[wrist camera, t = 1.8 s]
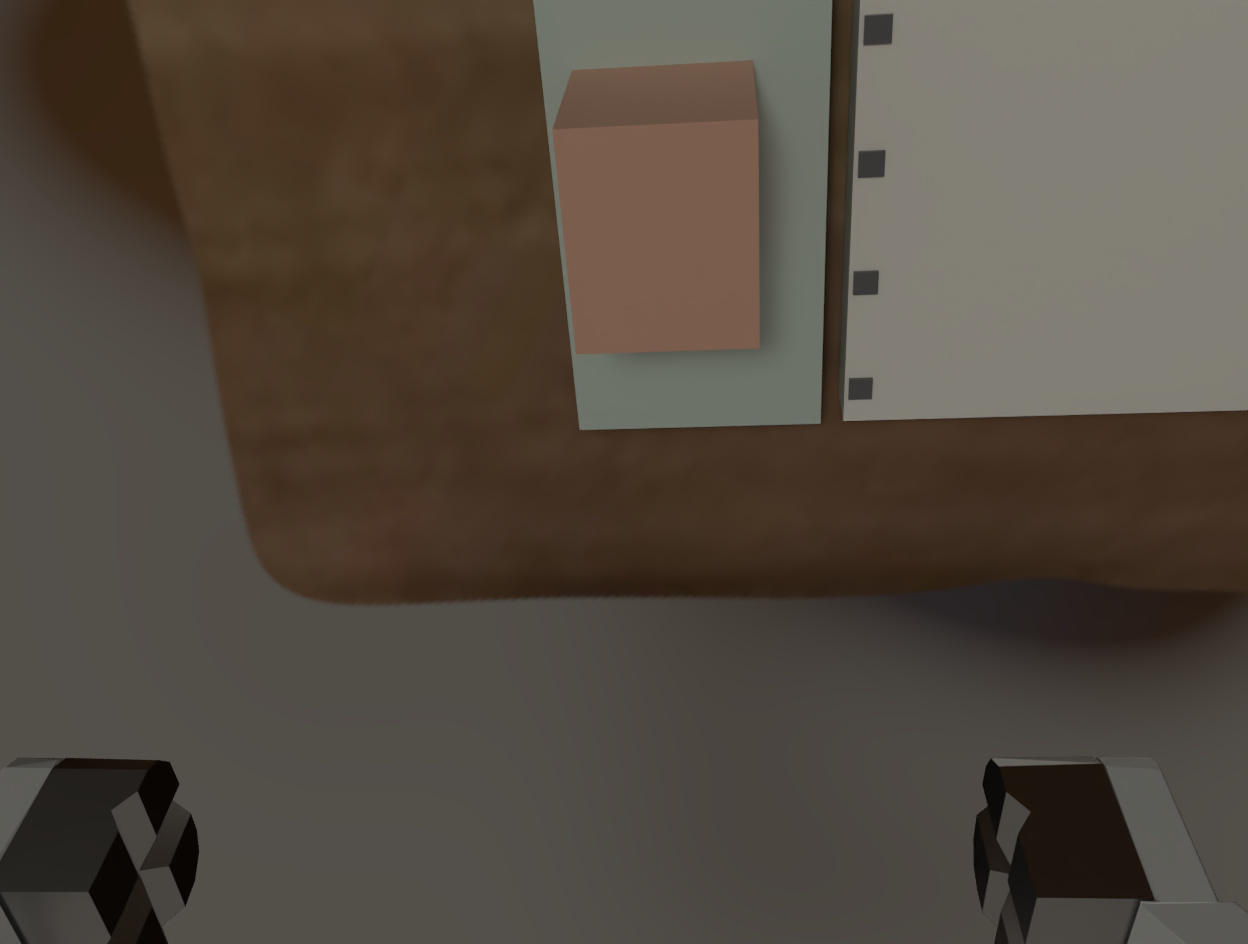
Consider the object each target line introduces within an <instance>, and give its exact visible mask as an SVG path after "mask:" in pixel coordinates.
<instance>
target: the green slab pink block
mask: <svg viewBox="0 0 1248 944" xmlns="http://www.w3.org/2000/svg"><path fill="white" fill-rule="evenodd" d="M533 2H534V12H535V21H536V30H537V39H538V49H539V58H540V67H541V76H542V85H543V95H544V104H545V113H546V122H547V132H548V141H549V150H550V159H551V169H552V178H553V187H554V196H555V206H556V215H557V224H558V233H559V243H560V252H561V261H562V270H563V280H564V289H565V298H566V307H567V317H568V326H569V335H570V344H571V354H572V363H573V372H574V381H575V391H576V400H577V409H578V418H579V428H580V430H598V429H636V428H673V427H711V426H748V425H786V424H821V391H822V355H823V318H824V282H825V246H826V209H827V173H828V137H829V100H830V64H831V28H832V0H533Z"/></svg>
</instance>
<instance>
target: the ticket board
mask: <svg viewBox="0 0 1248 944" xmlns="http://www.w3.org/2000/svg"><path fill="white" fill-rule="evenodd" d="M838 393H839V399H840V405H841V410H842V416H843V421H860V420H897V419H934V418H972V417H1009V416H1047V415H1084V414H1121V413H1159V412H1196V411H1233V410H1248V0H853V7H852V34H851V61H850V88H849V116H848V143H847V170H846V197H845V224H844V251H843V278H842V306H841V333H840V360H839V387H838Z"/></svg>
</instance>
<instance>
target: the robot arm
mask: <svg viewBox="0 0 1248 944" xmlns="http://www.w3.org/2000/svg"><path fill="white" fill-rule="evenodd" d="M178 786H179V782H178V779H177V777H176V775H175V773H174V771H173V768H172V766H171V764H170V762H167V761H161V760H132V759H92V758H19V757H18V758H17V759H16V760H14V761H13V762H11V763H10V764H9V765H7V766H6V767H5V768H4V769H3V770H2V771H1V773H0V944H168V941H167V939H166V936H165V933H164V930H163V928H162V926H163V925H165V924H166V923H167V922H168V921H169V920H170V919H172V918H173V917H174V916H175V915H176V914H177V913H179V912H180V911H181V910H182V909H183V908H184V907H185V906H186V904H187V901H188V898H189V895H190V893H191V890H192V887H193V885H194V882H195V877H196V870H197V863H198V856H199V845H198V836H197V829H196V826H195V824H194V821H193V818H192V815H191V813H189V812H188V811H187V810H185V809H184V808H183V807H181V806H180V805H178V804H177V803H176V802H174V801H173V798H174V795H175V793H176V791H177V789H178ZM983 789H984V793H985V796H986V800H987V804H988V806H987V807H986V808H985V809H984V810H982V811H981V812H980V813H979V814H978V815H977V817H976V824H975V831H974V839H973V843H974V844H973V845H974V871H975V878H976V885H977V891H978V895H979V900H980V904H981V908H982V912H983V913H984V914H985V915H986V916H987V917H988V918H989V919H990V920H991V921H992V922H993V923H994V924H995V925H996V926H997V927H998V928H997V933H996V938H995V943H994V944H1248V912H1247V911H1245V910H1244V909H1243V908H1242V907H1240V906H1239V905H1238V904H1237V903H1234V902H1219V901H1218V899H1217V896H1216V894H1215V892H1214V889H1213V888H1212V885H1211V882H1210V880H1209V878H1208V876H1207V874H1206V871H1205V869H1204V866H1203V864H1202V862H1201V860H1200V858H1199V855H1198V853H1197V851H1196V848H1195V846H1194V844H1193V841H1192V839H1191V837H1190V835H1189V832H1188V830H1187V828H1186V825H1185V823H1184V821H1183V819H1182V816H1181V814H1180V812H1179V809H1178V807H1177V805H1176V803H1175V800H1174V798H1173V796H1172V793H1171V791H1170V789H1169V787H1168V784H1167V782H1166V780H1165V778H1164V775H1163V773H1162V771H1161V768H1160V766H1159V765H1158V764H1157V763H1156V762H1155V761H1154V760H1153V759H1152V758H1151V757H1097V758H1093V757H1025V758H1024V757H1021V758H991V759H990V761H989V762H988V764H987V766H986V769H985V774H984V779H983Z"/></svg>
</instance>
